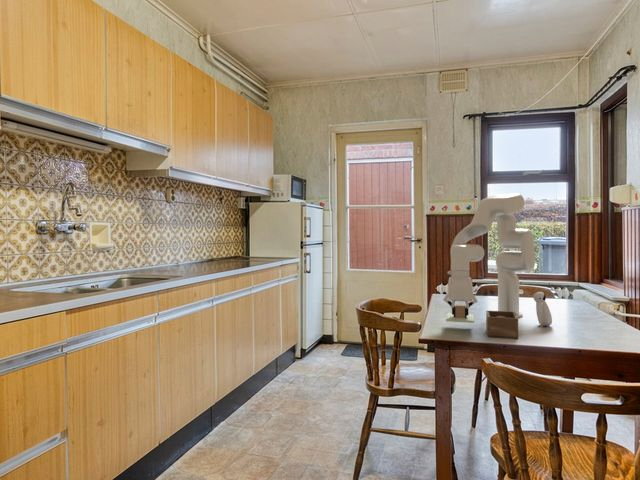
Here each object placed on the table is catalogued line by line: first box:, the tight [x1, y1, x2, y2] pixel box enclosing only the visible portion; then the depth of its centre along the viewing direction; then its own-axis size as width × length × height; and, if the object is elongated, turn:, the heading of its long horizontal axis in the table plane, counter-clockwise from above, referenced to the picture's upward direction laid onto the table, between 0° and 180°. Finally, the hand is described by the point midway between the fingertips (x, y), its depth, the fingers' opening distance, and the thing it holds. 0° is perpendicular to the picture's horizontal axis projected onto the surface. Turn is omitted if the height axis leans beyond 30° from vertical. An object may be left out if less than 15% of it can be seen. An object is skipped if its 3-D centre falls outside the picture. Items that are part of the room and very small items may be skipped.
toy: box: [533, 291, 553, 327], centre depth 188 cm, size 11×7×15 cm, turn 168°
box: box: [485, 310, 519, 340], centre depth 175 cm, size 14×11×8 cm
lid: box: [445, 303, 475, 324], centre depth 183 cm, size 14×11×6 cm
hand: (460, 316), depth 183 cm, fingers closed on lid, 4 cm apart
